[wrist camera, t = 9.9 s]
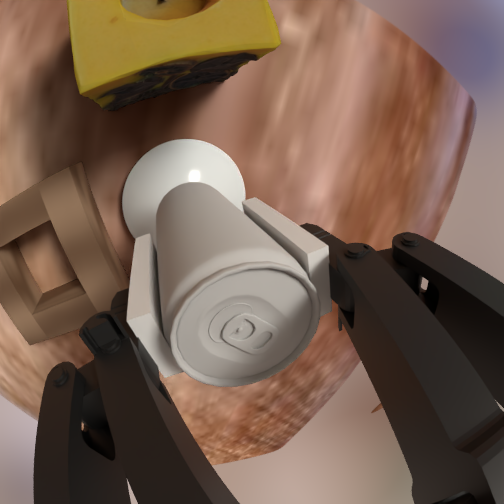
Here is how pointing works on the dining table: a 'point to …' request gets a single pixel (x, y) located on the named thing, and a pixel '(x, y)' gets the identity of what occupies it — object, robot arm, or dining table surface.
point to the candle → (163, 44)
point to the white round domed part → (176, 180)
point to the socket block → (76, 248)
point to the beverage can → (228, 291)
